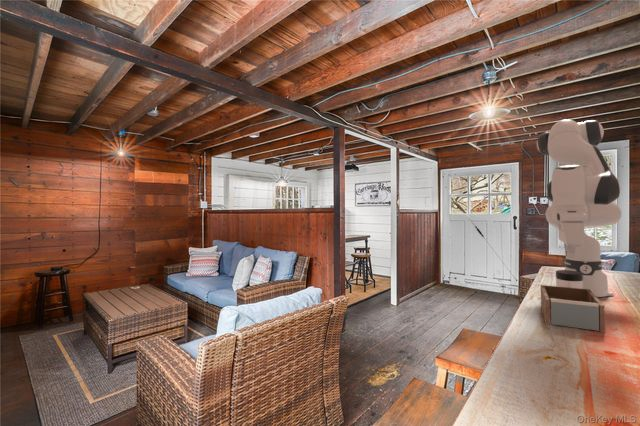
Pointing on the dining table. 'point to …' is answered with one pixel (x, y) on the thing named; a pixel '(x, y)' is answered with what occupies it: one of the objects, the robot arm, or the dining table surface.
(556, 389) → the dining table surface
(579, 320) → the panel
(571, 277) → the jar
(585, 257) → the robot arm
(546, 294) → the crate
